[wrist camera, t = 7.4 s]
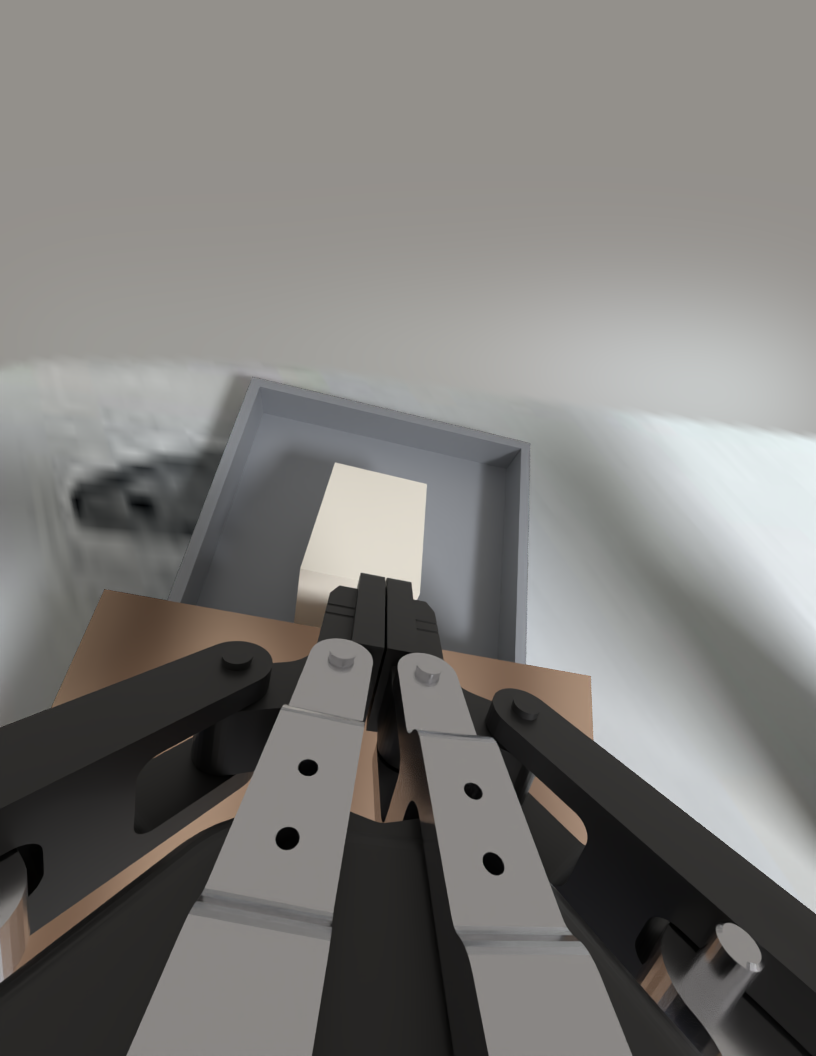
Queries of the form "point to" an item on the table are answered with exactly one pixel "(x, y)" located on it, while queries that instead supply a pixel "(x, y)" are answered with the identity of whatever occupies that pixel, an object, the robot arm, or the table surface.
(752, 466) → the table surface
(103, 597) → the walnut platform
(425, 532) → the box
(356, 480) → the cream block
